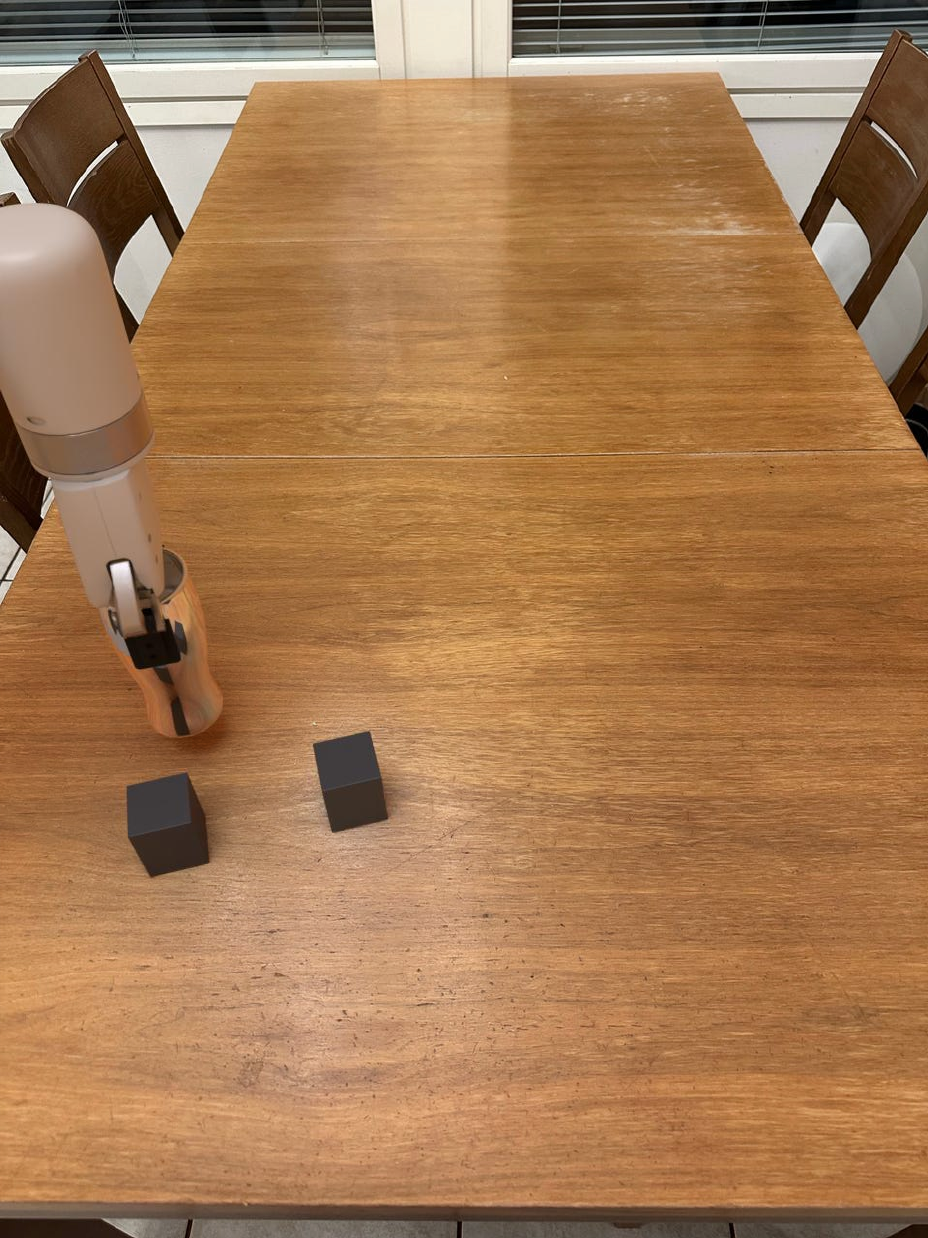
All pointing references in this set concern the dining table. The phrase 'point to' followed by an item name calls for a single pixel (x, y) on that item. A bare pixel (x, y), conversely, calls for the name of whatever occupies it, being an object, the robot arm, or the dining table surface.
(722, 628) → the dining table surface
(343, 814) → the block right
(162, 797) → the block left
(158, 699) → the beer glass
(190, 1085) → the dining table surface
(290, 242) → the dining table surface
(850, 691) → the dining table surface
